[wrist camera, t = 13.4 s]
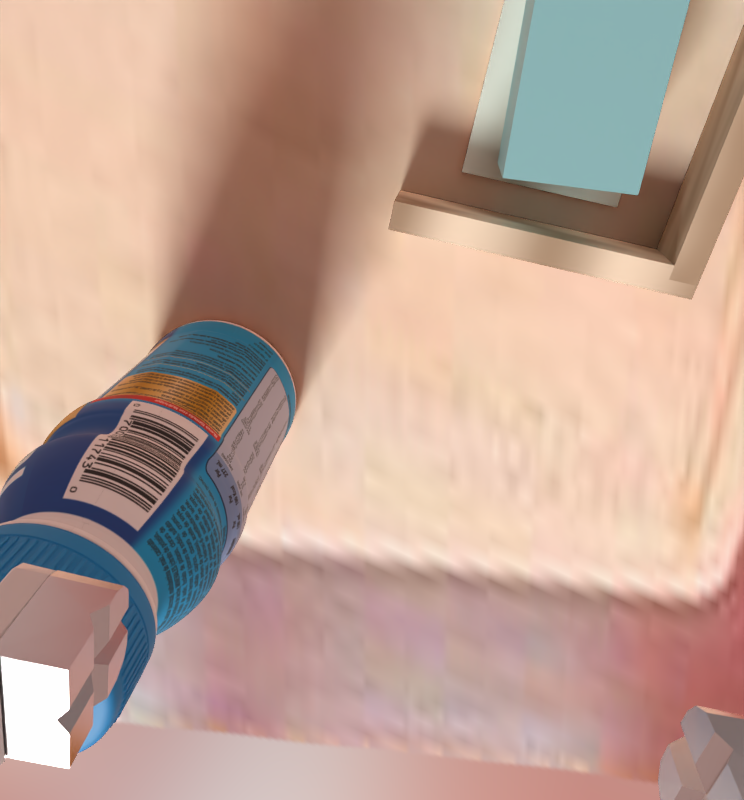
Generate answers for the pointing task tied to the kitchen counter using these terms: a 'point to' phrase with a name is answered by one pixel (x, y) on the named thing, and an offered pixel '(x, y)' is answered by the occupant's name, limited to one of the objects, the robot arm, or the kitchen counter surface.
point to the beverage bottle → (153, 482)
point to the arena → (591, 192)
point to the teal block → (589, 91)
